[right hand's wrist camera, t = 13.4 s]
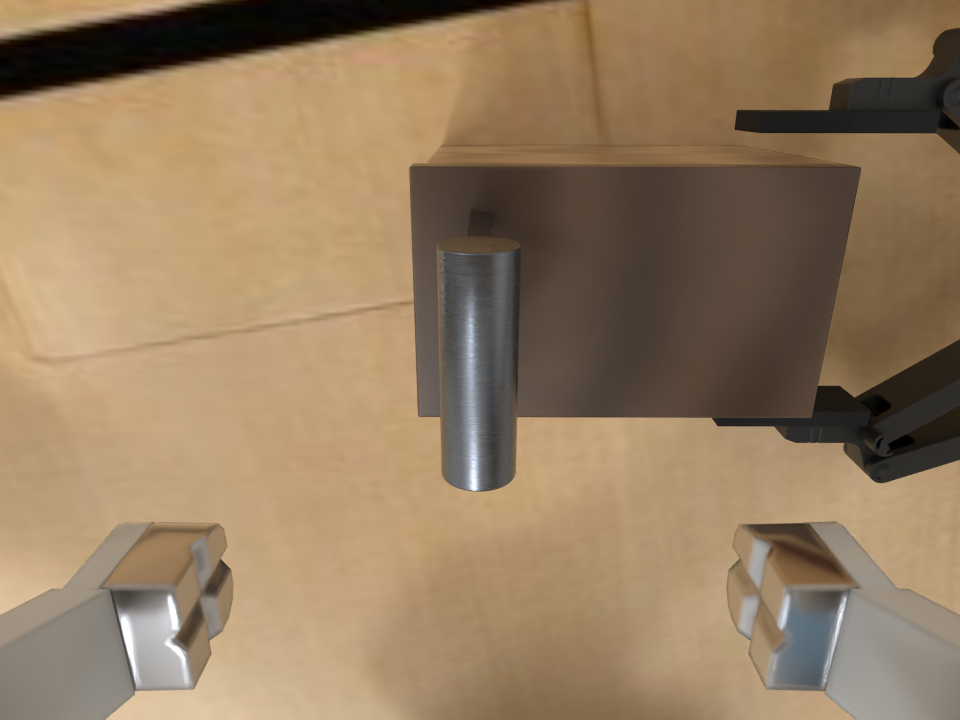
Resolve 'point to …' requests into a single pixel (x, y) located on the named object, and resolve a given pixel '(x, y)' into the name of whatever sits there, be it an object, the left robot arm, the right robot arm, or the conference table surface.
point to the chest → (612, 155)
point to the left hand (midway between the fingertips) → (726, 274)
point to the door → (618, 295)
